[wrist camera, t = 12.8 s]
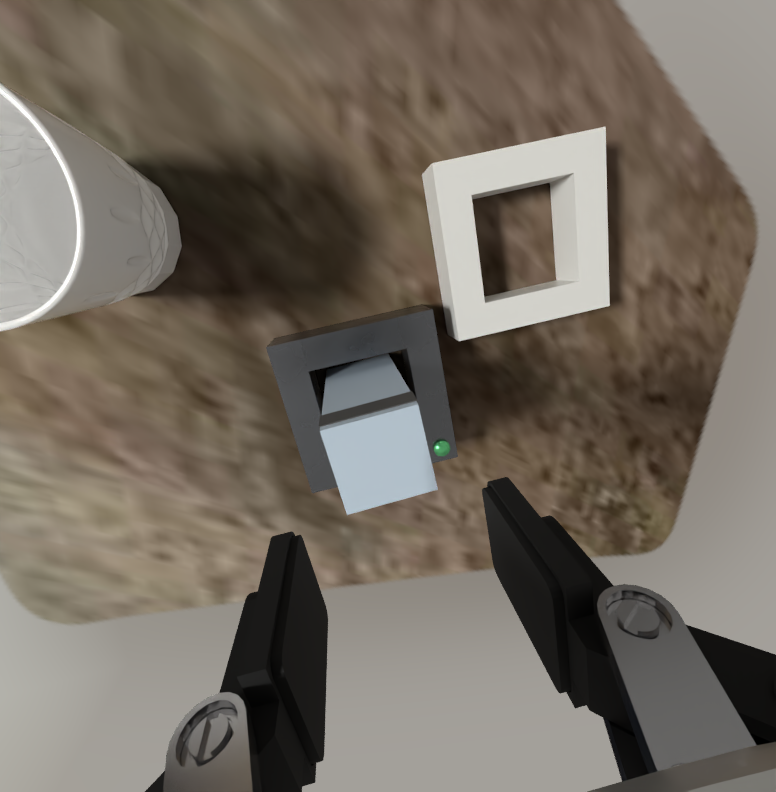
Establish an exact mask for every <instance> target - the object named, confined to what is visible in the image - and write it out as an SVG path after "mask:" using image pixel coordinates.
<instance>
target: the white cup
mask: <svg viewBox="0 0 776 792" xmlns="http://www.w3.org/2000/svg"><path fill="white" fill-rule="evenodd" d="M181 248H182V243H181V237H180V230H179V223H178V217H177V215H176V213H175V212H174V210H173V208H172V207H171V205H170V203H169V202H168V200H167V199H166V197H165V195H164V194H163V192H162V190H161V189H160V188H159V187H158V186H157V185H156V184H154V183H153V182H152V181H150V180H149V179H148V178H146V177H145V176H144V175H142V174H141V173H140V172H138V171H137V170H136V169H135V168H133V167H132V166H130V165H129V164H127V163H126V162H125V161H124V160H123V159H121V158H120V157H119V156H117V155H116V154H114V153H113V152H111V151H109V150H108V149H106V148H105V147H103V146H102V145H100V144H99V143H97V142H96V141H94V140H93V139H91V138H90V137H88V136H86V135H85V134H84V133H83V132H81V131H80V130H78V129H76V128H75V127H73V126H72V125H70V124H68V123H67V122H65V121H63V120H62V119H60V118H58V117H57V116H55V115H54V114H52V113H50V112H49V111H47V110H45V109H44V108H42V107H40V106H39V105H37V104H36V103H34V102H32V101H31V100H29V99H27V98H26V97H24V96H22V95H21V94H19V93H18V92H16V91H14V90H13V89H11V88H9V87H8V86H6V85H5V84H3V83H1V82H0V331H5V330H10V329H14V328H18V327H22V326H26V325H29V324H33V323H37V322H41V321H45V320H49V319H54V318H58V317H62V316H66V315H70V314H74V313H78V312H81V311H85V310H89V309H94V308H98V307H103V306H106V305H109V304H112V303H115V302H119V301H122V300H124V299H126V298H128V297H130V296H132V295H136V294H140V293H144V292H148V291H152V290H155V289H156V288H157V287H158V286H159V285H160V284H161V283H162V282H163V281H165V280H166V279H167V278H168V277H169V276H170V275H171V274H172V273H173V272H174V269H175V266H176V263H177V260H178V257H179V254H180V251H181Z"/></svg>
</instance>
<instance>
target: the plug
mask: <svg viewBox="0 0 776 792" xmlns="http://www.w3.org/2000/svg"><path fill="white" fill-rule="evenodd" d="M319 429H320V433H321V437H322V440H323V443H324V446H325V449H326V452H327V455H328V458H329V461H330V464H331V467H332V470H333V473H334V476H335V479H336V482H337V485H338V489H339V492H340V495H341V498H342V501H343V504H344V507H345V510H346V513H347V515H348V514H352V513H356V512H359V511H363V510H366V509H370V508H373V507H377V506H381V505H384V504H388V503H391V502H395V501H398V500H402V499H406V498H409V497H413V496H416V495H420V494H423V493H427V492H431V491H434V490H438V488H437V484H436V479H435V475H434V471H433V466H432V462H431V458H430V453H429V449H428V444H427V440H426V436H425V431H424V427H423V423H422V418H421V414H420V410H419V405H418V401H417V399H416V397H415V395H414V394H413V392H412V391H410V390H409V388H408V386H407V385H406V383H405V381H404V380H403V378H402V376H401V375H400V373H399V371H398V369H397V368H396V366H395V364H394V363H393V361H392V359H391V358H390V356H389V354H384V355H380V356H376V357H373V358H369V359H365V360H361V361H358V362H354V363H350V364H346V365H343V366H339V367H335V368H331V369H327V373H326V381H325V390H324V398H323V407H322V415H321V416H320V419H319Z"/></svg>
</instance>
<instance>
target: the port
mask: <svg viewBox="0 0 776 792" xmlns="http://www.w3.org/2000/svg"><path fill="white" fill-rule="evenodd" d="M266 349H267V352H268V355H269V358H270V361H271V364H272V367H273V371H274V374H275V377H276V380H277V383H278V386H279V390H280V393H281V396H282V399H283V402H284V405H285V409H286V412H287V415H288V418H289V421H290V424H291V427H292V431H293V434H294V437H295V440H296V443H297V446H298V450H299V453H300V456H301V459H302V462H303V465H304V469H305V472H306V475H307V478H308V481H309V484H310V487H311V491H312V493H315V492H319V491H323V490H327V489H331V488H335V487H338V485H337V482H336V479H335V476H334V473H333V470H332V467H331V464H330V461H329V458H328V455H327V452H326V449H325V446H324V443H323V440H322V437H321V433H320V429H319V419H320V416H321V415H322V407H323V398H322V394H321V391H320V387H319V384H318V380H317V376H316V373H315V370H317V369H322V368H326V367H330V366H334V365H339V364H343V363H347V362H351V361H356V360H360V359H364V358H368V357H373V356H377V355H381V354H386V353H390V352H394V351H398V350H401V351H402V356H403V361H404V366H405V371H406V376H407V381H408V386H409V390H410V391H412V392H413V394H414V395H415V397H416V399H417V401H418V405H419V410H420V414H421V418H422V423H423V427H424V431H425V436H426V440H427V444H428V449H429V453H430V458H431V462H432V463H435V462H439V461H443V460H447V459H451V458H455V457H458V455H457V449H456V443H455V437H454V431H453V426H452V420H451V414H450V408H449V402H448V396H447V390H446V384H445V378H444V372H443V367H442V361H441V355H440V349H439V343H438V337H437V331H436V325H435V319H434V313H433V309H431V308H429V307H426V306H424V305H417V306H413V307H409V308H404V309H400V310H396V311H391V312H387V313H382V314H378V315H374V316H369V317H365V318H361V319H356V320H352V321H348V322H343V323H339V324H334V325H330V326H326V327H321V328H317V329H313V330H308V331H304V332H300V333H295V334H291V335H286V336H282V337H278V338H274V339H273V341H272V342H271V343H270V344H269V345H268V346H267V347H266Z"/></svg>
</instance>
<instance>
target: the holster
mask: <svg viewBox="0 0 776 792" xmlns="http://www.w3.org/2000/svg"><path fill="white" fill-rule="evenodd" d="M422 178H423V184H424V191H425V197H426V203H427V209H428V216H429V222H430V228H431V234H432V240H433V247H434V253H435V259H436V265H437V272H438V278H439V284H440V290H441V296H442V303H443V309H444V315H445V321H446V328H447V334H448V335H449V336H451V337H453V338H454V339H456V340H458V341H462V340H467V339H471V338H475V337H479V336H484V335H488V334H492V333H496V332H501V331H505V330H509V329H514V328H518V327H522V326H526V325H531V324H535V323H539V322H543V321H548V320H552V319H556V318H560V317H565V316H569V315H573V314H577V313H582V312H586V311H590V310H594V309H599V308H603V307H607V306H610V296H609V254H608V211H607V169H606V127H602V128H597V129H592V130H587V131H583V132H578V133H573V134H569V135H564V136H559V137H554V138H550V139H545V140H540V141H535V142H531V143H526V144H521V145H516V146H512V147H507V148H502V149H498V150H493V151H488V152H483V153H479V154H474V155H469V156H464V157H460V158H455V159H450V160H446V161H441V162H436V163H432V164H431V165H430V166H429V167H428V168H427V170H426V171H425V172H424V173H423V174H422ZM546 183H550V193H551V208H552V223H553V238H554V254H555V269H556V280H555V281H551V282H547V283H542V284H538V285H534V286H529V287H525V288H521V289H516V290H512V291H507V292H503V293H499V294H494V295H490V296H486V297H484V291H483V283H482V275H481V267H480V259H479V251H478V243H477V235H476V227H475V219H474V211H473V203H472V199H477V198H482V197H486V196H491V195H495V194H500V193H505V192H509V191H514V190H519V189H523V188H528V187H532V186H537V185H542V184H546Z"/></svg>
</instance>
